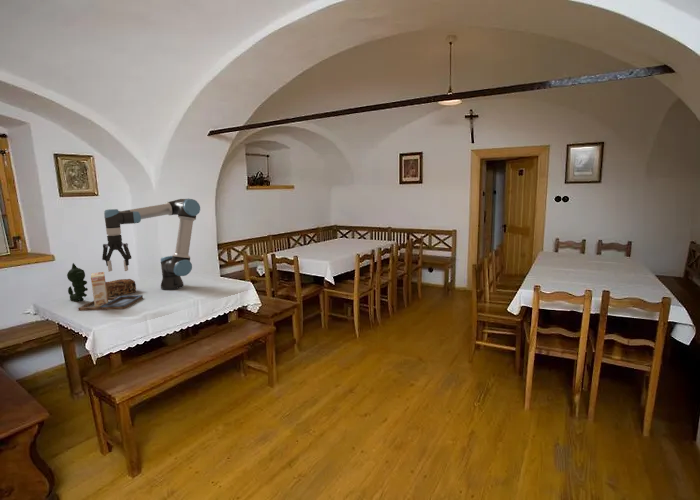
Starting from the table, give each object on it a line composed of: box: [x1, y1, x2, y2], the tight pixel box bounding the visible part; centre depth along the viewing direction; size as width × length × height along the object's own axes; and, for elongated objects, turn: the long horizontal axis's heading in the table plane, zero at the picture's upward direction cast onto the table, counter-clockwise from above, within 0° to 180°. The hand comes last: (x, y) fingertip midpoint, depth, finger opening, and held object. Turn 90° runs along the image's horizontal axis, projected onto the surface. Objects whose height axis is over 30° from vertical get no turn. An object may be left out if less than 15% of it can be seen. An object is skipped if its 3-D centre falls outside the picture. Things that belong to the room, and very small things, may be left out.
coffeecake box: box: [90, 271, 109, 307], centre depth 237 cm, size 15×7×20 cm, turn 32°
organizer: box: [77, 294, 144, 311], centre depth 238 cm, size 27×22×2 cm
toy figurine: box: [66, 262, 89, 303], centre depth 247 cm, size 9×19×25 cm, turn 59°
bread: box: [105, 278, 137, 297], centre depth 262 cm, size 19×11×10 cm, turn 137°
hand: (118, 270), depth 235 cm, fingers open, 9 cm apart
